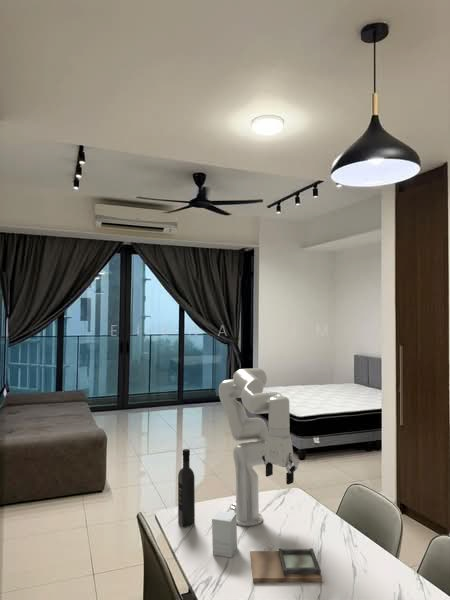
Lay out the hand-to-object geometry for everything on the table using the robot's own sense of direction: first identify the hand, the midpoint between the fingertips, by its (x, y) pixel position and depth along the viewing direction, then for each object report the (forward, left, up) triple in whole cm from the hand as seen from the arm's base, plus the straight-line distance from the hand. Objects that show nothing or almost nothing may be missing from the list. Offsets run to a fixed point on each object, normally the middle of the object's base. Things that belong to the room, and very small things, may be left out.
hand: (279, 479), depth 152 cm
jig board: (+6, -5, -27) cm, 28 cm away
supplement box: (-16, -11, -27) cm, 33 cm away
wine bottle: (-42, -7, -27) cm, 51 cm away
